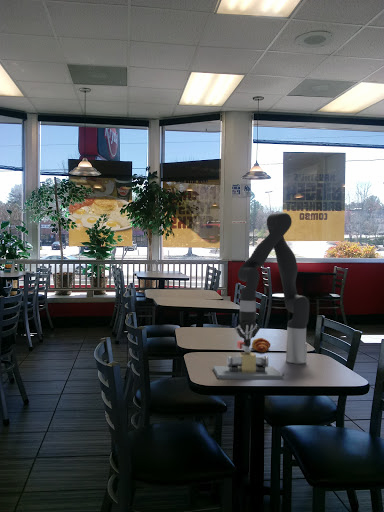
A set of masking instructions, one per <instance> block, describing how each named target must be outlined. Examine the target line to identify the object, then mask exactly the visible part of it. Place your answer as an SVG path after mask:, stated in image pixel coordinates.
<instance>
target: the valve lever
mask: <svg viewBox="0 0 384 512" xmlns="http://www.w3.org/2000/svg"><path fill="white" fill-rule="evenodd" d="M236 342H237V343H236V344H237V345H236V347H237V348H238V349H239V350H242V351H244V352H245V353H247V354H250V353H251V352H252V348H250V347H248V346H247V345H245V343H244V340H237V341H236Z"/></svg>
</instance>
